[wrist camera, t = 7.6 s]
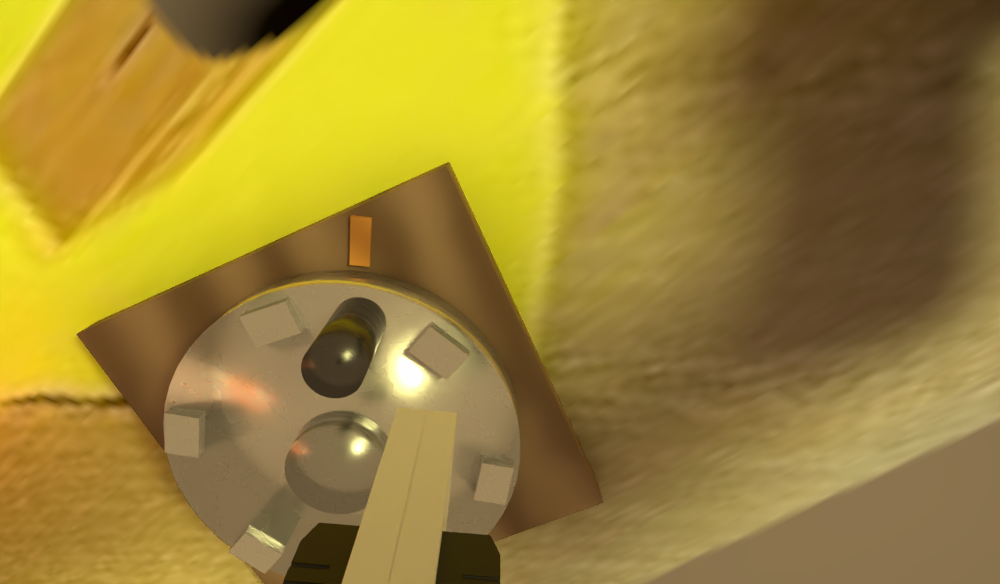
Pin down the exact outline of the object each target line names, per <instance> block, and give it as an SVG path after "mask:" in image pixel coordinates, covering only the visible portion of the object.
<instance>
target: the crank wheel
mask: <svg viewBox="0 0 1000 584" xmlns="http://www.w3.org/2000/svg"><path fill="white" fill-rule="evenodd" d="M398 407H399V408H410V409H422V410H433V411H444V412H455V413H457V419H456V431H455V442H454V453H453V465H452V476H451V488H450V499H449V508H448V516H447V524H446V531H447V532H459V533H471V534H483V535H488V534H489V532H490V531H491V530H492V529H493V528H494V526H495V525H496V523H497V522H498V520H499V519H500V518H501V516H502V515H503V513H504V511H505V509H506V507H507V505H508V503H509V501H510V499H511V497H512V494H513V490H514V487H515V484H516V481H517V477H518V471H519V465H520V430H519V416H518V409H517V402H516V396H515V392H514V389H513V386H512V382H511V379H510V376H509V374H508V372H507V370H506V368H505V366H504V364H503V361H502V359H501V358H500V356H499V355H498V353H497V352H496V350H495V349H494V347H493V345H492V344H491V342H490V341H489V340H488V339H487V338H486V336H485V335H484V334H483V333H482V332H481V331H480V329H479V328H478V327H477V326H476V325H475V324H474V323H473V322H472V321H471V320H469V319H468V318H467V317H466V316H465V315H464V314H463V313H462V312H460V311H459V310H458V309H456V308H455V307H454V306H452V305H451V304H449V303H448V302H446V301H445V300H443V299H442V298H440V297H439V296H437V295H435V294H433V293H431V292H429V291H427V290H425V289H423V288H421V287H419V286H417V285H414V284H411V283H409V282H406V281H403V280H401V279H398V278H394V277H390V276H386V275H382V274H377V273H372V272H364V271H355V270H324V271H317V272H309V273H303V274H299V275H295V276H292V277H288V278H284V279H281V280H279V281H276V282H274V283H271V284H269V285H267V286H264V287H262V288H260V289H258V290H257V291H255V292H253V293H252V294H250V295H248V296H247V297H245V298H243V299H242V300H241V301H239V302H238V303H237V304H236V305H235V306H233V307H232V308H231V309H230V310H228V311H227V312H226V313H225V314H224V315H223V316H221V317H220V318H219V319H218V320H217V321H216V322H214V323H213V324H212V325H211V326H210V327H209V328H207V329H206V330H205V331H204V332H203V333H202V334H201V335H200V336H199V338H198V339H197V340H196V341H195V342H194V343H193V344H192V345H191V347H190V348H189V349H188V351H187V352H186V354H185V355H184V357H183V358H182V360H181V362H180V363H179V365H178V366H177V369H176V371H175V373H174V376H173V378H172V380H171V383H170V385H169V389H168V393H167V397H166V401H165V408H164V420H163V429H164V441H165V453H167V456H168V460H169V464H170V467H171V470H172V472H173V475H174V477H175V480H176V482H177V484H178V486H179V488H180V490H181V491H182V493H183V495H184V497H185V499H186V500H187V502H188V503H189V505H190V506H191V507H192V509H193V510H194V511H195V513H196V514H197V515H198V517H199V518H200V519H201V520H202V521H203V522H204V523H205V524H206V525H207V526H208V527H209V529H210V530H211V531H212V532H213V533H214V534H216V535H217V536H218V537H219V538H220V539H221V540H223V541H224V542H225V543H226V544H227V545H229V546H230V547H231V548H230V550H229V553H231V554H232V555H234V556H236V557H237V558H239V559H241V560H242V561H244V562H246V563H247V564H249V565H251V566H252V567H254V568H256V569H257V570H259V571H261V572H263V573H264V574H265V573H266V572H267V571H268V570H272V571H274V572H277V573H279V574H282V575H284V576H286V573H287V571H288V569H289V567H290V566H291V562H292V559H293V557H294V555H295V553H296V550H297V548H298V546H299V543H300V541H301V540H302V539H303V538H304V537H305V536H306V535H307V534H308V533H309V532H310V531H311V530H312V529H313V528H314V527H315V526H316V525H317V524H318V523H319V522H320V523H332V524H344V525H356V526H360V524H361V521H362V518H363V515H364V511H365V508H366V505H367V502H368V499H369V496H370V493H371V489H372V486H373V483H374V480H375V477H376V474H377V471H378V467H379V464H380V461H381V458H382V455H383V452H384V449H385V445H386V442H387V439H388V436H389V433H390V430H391V427H392V423H393V420H394V417H395V414H396V411H397V408H398Z"/></svg>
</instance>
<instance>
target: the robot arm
mask: <svg viewBox="0 0 1000 584" xmlns="http://www.w3.org/2000/svg"><path fill="white" fill-rule="evenodd" d="M456 419H457V413H455V412H444V411H433V410H422V409H410V408H399V407H398V408H397V411H396V414H395V417H394V420H393V423H392V427H391V430H390V433H389V436H388V439H387V442H386V445H385V449H384V452H383V455H382V458H381V461H380V464H379V467H378V471H377V474H376V477H375V480H374V483H373V486H372V489H371V493H370V496H369V499H368V502H367V505H366V508H365V511H364V515H363V518H362V521H361V524H360V526H356V525H344V524H332V523H320V522H319V523H318V524H317V525H316V526H315V527H314V528H313V529H312V530H311V531H310V532H309V533H308V534H307V535H306V536H305V537H304V538H303V539H302V540H301V541H300V543H299V546H298V548H297V550H296V553H295V555H294V557H293V559H292V562H291V566H290V567H289V569H288V571H287V573H286V576H285V578H284V580H283V584H500V554H499V552H498V550H497V548H496V546H495V544H494V542H493V540H492V538H491V536H490V535H483V534H471V533H459V532H447V531H446V524H447V516H448V508H449V499H450V488H451V476H452V465H453V453H454V442H455V431H456Z"/></svg>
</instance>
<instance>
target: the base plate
mask: <svg viewBox="0 0 1000 584" xmlns="http://www.w3.org/2000/svg"><path fill="white" fill-rule="evenodd" d="M324 270H355V271H364V272H372V273H377V274H382V275H386V276H390V277H394V278H398V279H401V280H403V281H406V282H409V283H411V284H414V285H417V286H419V287H421V288H423V289H425V290H427V291H429V292H431V293H433V294H435V295H437V296H439V297H440V298H442V299H443V300H445V301H446V302H448V303H449V304H451V305H452V306H454V307H455V308H456V309H458V310H459V311H460V312H462V313H463V314H464V315H465V316H466V317H467V318H468V319H469V320H471V321H472V322H473V323H474V324H475V325H476V326H477V327H478V328H479V329H480V331H481V332H482V333H483V334H484V335H485V336H486V338H487V339H488V340H489V341H490V342H491V344H492V345H493V347H494V349H495V350H496V352H497V353H498V355H499V356H500V358H501V359H502V361H503V364H504V366H505V368H506V370H507V372H508V374H509V376H510V379H511V382H512V386H513V389H514V392H515V396H516V402H517V409H518V416H519V430H520V465H519V471H518V477H517V481H516V484H515V487H514V490H513V494H512V497H511V499H510V501H509V503H508V505H507V507H506V509H505V511H504V513H503V515H502V516H501V518H500V519H499V520H498V522H497V523H496V525H495V526H494V528H493V529H492V530H491V531H490V532H489V534H488V535H490V536H491V538H492V540H493V542H494V541H497V540H500V539H503V538H505V537H508V536H511V535H514V534H517V533H519V532H522V531H525V530H528V529H531V528H533V527H536V526H539V525H542V524H545V523H547V522H550V521H553V520H556V519H559V518H561V517H564V516H567V515H570V514H573V513H575V512H578V511H581V510H584V509H587V508H589V507H592V506H595V505H598V504H601V503H603V500H602V496H601V492H600V489H599V485H598V482H597V480H596V478H595V476H594V474H593V472H592V469H591V467H590V465H589V463H588V461H587V459H586V456H585V454H584V452H583V450H582V448H581V446H580V444H579V441H578V439H577V437H576V435H575V433H574V431H573V428H572V426H571V424H570V422H569V420H568V418H567V415H566V413H565V411H564V409H563V407H562V405H561V403H560V400H559V398H558V396H557V394H556V392H555V390H554V387H553V385H552V383H551V381H550V379H549V377H548V374H547V372H546V370H545V368H544V366H543V364H542V361H541V359H540V357H539V355H538V353H537V351H536V349H535V346H534V344H533V342H532V340H531V338H530V336H529V333H528V331H527V329H526V327H525V325H524V323H523V320H522V318H521V316H520V314H519V312H518V310H517V307H516V305H515V303H514V301H513V299H512V297H511V295H510V292H509V290H508V288H507V286H506V284H505V282H504V279H503V277H502V275H501V273H500V271H499V269H498V266H497V264H496V262H495V260H494V258H493V256H492V253H491V251H490V249H489V247H488V245H487V243H486V241H485V238H484V236H483V234H482V232H481V230H480V228H479V225H478V223H477V221H476V219H475V217H474V215H473V212H472V210H471V208H470V206H469V204H468V202H467V199H466V197H465V195H464V193H463V191H462V189H461V187H460V184H459V182H458V180H457V178H456V176H455V174H454V171H453V169H452V167H451V165H450V163H449V162H448V163H446V164H443V165H441V166H439V167H437V168H434V169H432V170H430V171H428V172H426V173H423V174H421V175H419V176H417V177H415V178H412V179H410V180H408V181H406V182H404V183H401V184H399V185H397V186H395V187H393V188H390V189H388V190H386V191H384V192H382V193H379V194H377V195H375V196H373V197H371V198H368V199H366V200H364V201H362V202H360V203H357V204H355V205H353V206H351V207H349V208H346V209H344V210H342V211H340V212H338V213H335V214H333V215H331V216H329V217H327V218H324V219H322V220H320V221H318V222H316V223H313V224H311V225H309V226H307V227H305V228H302V229H300V230H298V231H296V232H294V233H291V234H289V235H287V236H285V237H283V238H280V239H278V240H276V241H274V242H272V243H269V244H267V245H265V246H263V247H261V248H258V249H256V250H254V251H252V252H250V253H247V254H245V255H243V256H241V257H238V258H236V259H234V260H232V261H230V262H227V263H225V264H223V265H221V266H219V267H216V268H214V269H212V270H210V271H208V272H205V273H203V274H201V275H199V276H197V277H194V278H192V279H190V280H188V281H186V282H183V283H181V284H179V285H177V286H175V287H172V288H170V289H168V290H166V291H164V292H161V293H159V294H157V295H155V296H153V297H150V298H148V299H146V300H144V301H142V302H139V303H137V304H135V305H133V306H131V307H128V308H126V309H124V310H122V311H120V312H117V313H115V314H113V315H111V316H109V317H106V318H104V319H102V320H100V321H98V322H96V323H94V324H92V325H91V326H89V327H87V328H86V329H84V330H82V331H81V332H79V333H78V334H77V336H78V337H79V338H80V339H81V341H82V342H83V343H84V345H85V346H86V347H87V349H88V350H89V351H90V353H91V354H92V355H93V357H94V358H95V359H96V361H97V362H98V363H99V365H100V366H101V367H102V369H103V370H104V371H105V373H106V374H107V375H108V377H109V378H110V379H111V381H112V382H113V383H114V385H115V386H116V387H117V389H118V390H119V391H120V393H121V394H122V395H123V397H124V398H125V399H126V401H127V402H128V403H129V404H130V406H131V407H132V408H133V410H134V411H135V412H136V414H137V415H138V416H139V418H140V419H141V420H142V422H143V423H144V424H145V426H146V427H147V428H148V430H149V431H150V432H151V434H152V435H153V436H154V438H155V439H156V440H157V442H158V443H159V444H160V446H161V447H162V448H163V450H164V451H165V441H164V429H163V420H164V408H165V401H166V397H167V393H168V389H169V385H170V383H171V380H172V378H173V376H174V373H175V371H176V369H177V366H178V365H179V363H180V362H181V360H182V358H183V357H184V355H185V354H186V352H187V351H188V349H189V348H190V347H191V345H192V344H193V343H194V342H195V341H196V340H197V339H198V338H199V336H200V335H201V334H202V333H203V332H204V331H205V330H206V329H207V328H209V327H210V326H211V325H212V324H213V323H214V322H216V321H217V320H218V319H219V318H220V317H221V316H223V315H224V314H225V313H226V312H227V311H228V310H230V309H231V308H232V307H233V306H235V305H236V304H237V303H238V302H239V301H241V300H242V299H243V298H245V297H247V296H248V295H250V294H252V293H253V292H255V291H257V290H258V289H260V288H262V287H264V286H267V285H269V284H271V283H274V282H276V281H279V280H281V279H284V278H288V277H292V276H295V275H299V274H303V273H309V272H317V271H324ZM166 454H167V453H166ZM252 568H253V569H254V570H255V572H256V573H257V574H258V576H259V577H260V578H261V580H262V581H263V582H264V584H283V580H284V578H285V576H284V575H282V574H279V573H277V572H274V571H272V570H268V571H267V572H266V573H265V574H264V573H263V572H261V571H259V570H257V569H256V568H254V567H252Z"/></svg>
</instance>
